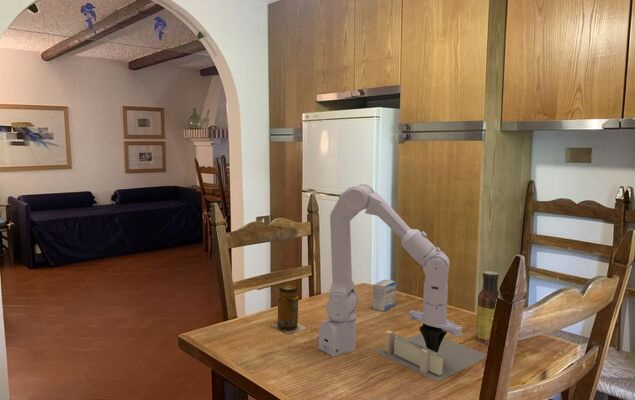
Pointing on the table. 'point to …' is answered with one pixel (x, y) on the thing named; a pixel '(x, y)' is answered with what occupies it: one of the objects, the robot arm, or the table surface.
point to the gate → (416, 353)
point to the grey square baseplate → (452, 352)
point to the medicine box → (384, 295)
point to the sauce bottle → (486, 306)
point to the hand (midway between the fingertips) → (432, 354)
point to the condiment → (288, 310)
